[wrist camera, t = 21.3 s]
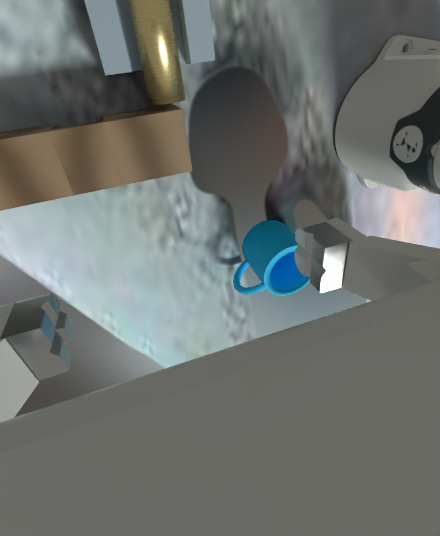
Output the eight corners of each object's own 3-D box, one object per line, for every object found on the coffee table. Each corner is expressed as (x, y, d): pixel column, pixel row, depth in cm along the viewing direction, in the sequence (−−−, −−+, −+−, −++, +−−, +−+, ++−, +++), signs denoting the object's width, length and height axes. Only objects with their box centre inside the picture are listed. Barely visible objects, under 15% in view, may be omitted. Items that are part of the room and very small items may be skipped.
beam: (173, 104, 33) (182, 109, 29) (183, 159, 36) (192, 170, 32) (-26, 136, 29) (-47, 147, 25) (6, 194, 33) (-8, 212, 29)
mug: (276, 209, 44) (304, 233, 38) (297, 244, 49) (326, 271, 43) (212, 258, 46) (229, 290, 39) (239, 288, 51) (258, 320, 44)
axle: (149, -103, 24) (155, -127, 21) (181, 97, 32) (188, 100, 29) (103, -102, 23) (102, -126, 20) (148, 103, 31) (152, 106, 28)
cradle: (191, -62, 27) (201, -78, 24) (205, 61, 32) (215, 60, 29) (69, -55, 25) (64, -71, 22) (105, 75, 30) (105, 75, 27)
